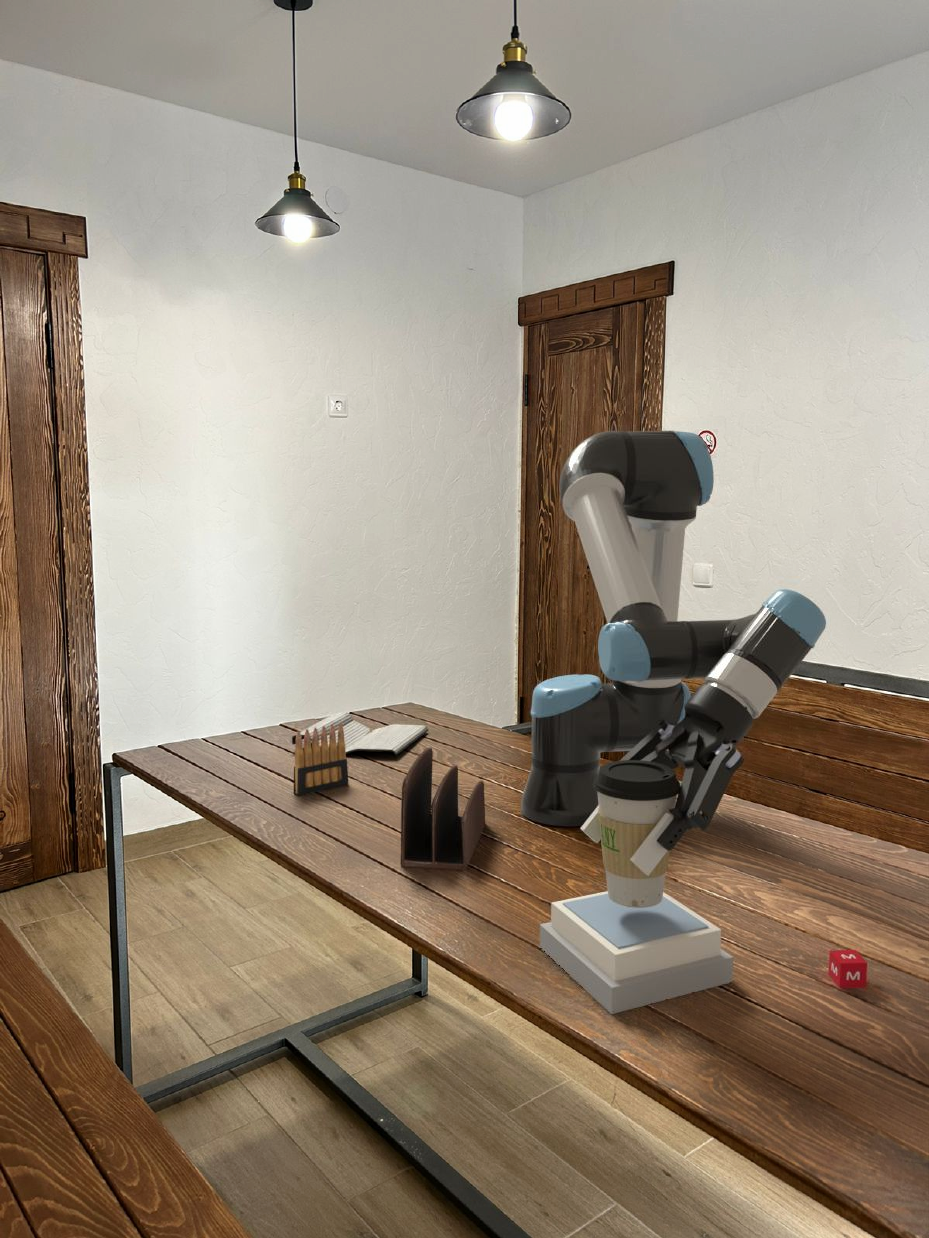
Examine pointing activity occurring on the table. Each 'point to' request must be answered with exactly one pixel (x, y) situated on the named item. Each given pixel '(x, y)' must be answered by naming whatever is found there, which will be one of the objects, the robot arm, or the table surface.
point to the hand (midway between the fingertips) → (612, 851)
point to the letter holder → (438, 819)
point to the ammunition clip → (320, 762)
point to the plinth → (637, 984)
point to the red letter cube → (847, 968)
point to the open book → (375, 741)
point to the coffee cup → (633, 826)
